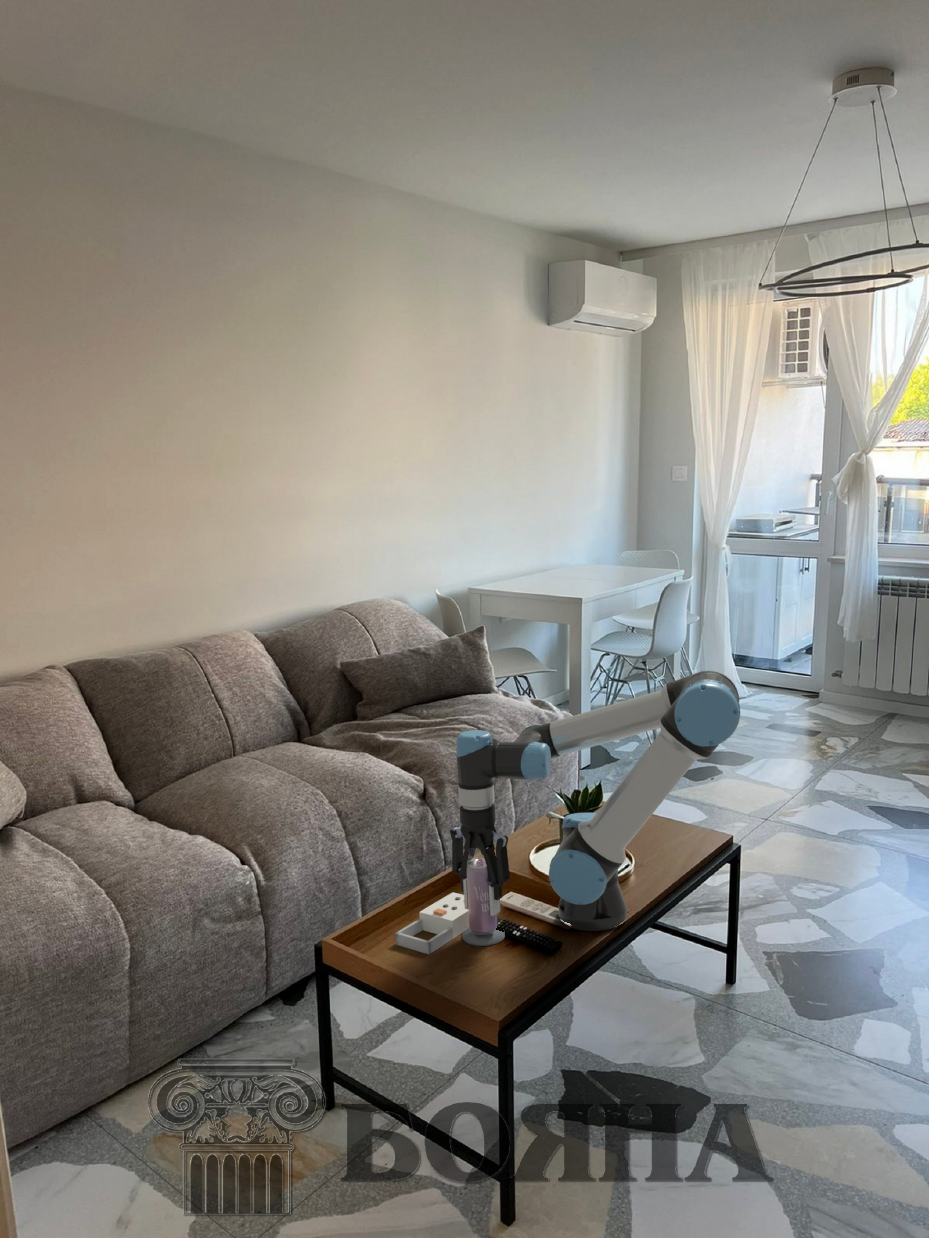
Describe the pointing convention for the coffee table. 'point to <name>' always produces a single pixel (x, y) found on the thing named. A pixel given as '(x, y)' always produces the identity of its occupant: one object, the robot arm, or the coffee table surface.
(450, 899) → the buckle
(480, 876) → the beverage can
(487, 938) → the coaster
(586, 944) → the coffee table surface
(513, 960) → the coffee table surface
